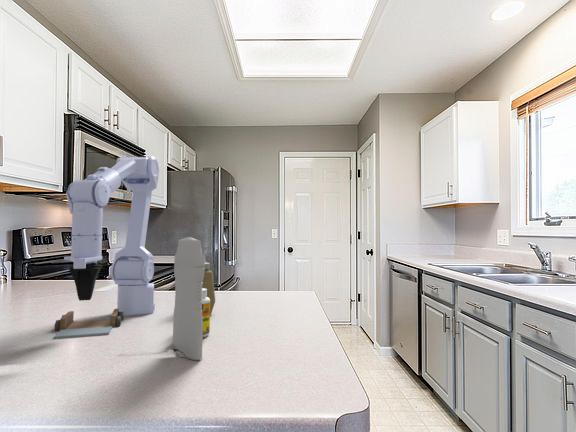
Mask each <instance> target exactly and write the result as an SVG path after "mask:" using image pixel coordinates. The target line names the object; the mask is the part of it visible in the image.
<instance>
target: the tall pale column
mask: <svg viewBox="0 0 576 432" xmlns="http://www.w3.org/2000/svg"><path fill="white" fill-rule="evenodd" d="M202 250H203V249H202V243H201V239H200V240H199V239H196V238H194V237H190V236H189V237H185V238H182V239H178V243H177V250H176V253H175V255H174V265H173V273H174V277H175V278H174V280H175V281H174V283H175V288H174V289H175V291H174V294H175V295H174V309H173V317H172V318H173V321H172V322H173V323H172V324H173V325H172V345H173V346H174V347H175V348H173V349H172V351H173V352H174V351H175V352H174V353H175V357H178V358H184V359H187V358H188V360H190V361H196V362H198V361H199V362H200V361H203V338H202V332H203V318H202V285H203V283H202V280H203V278H204V266H205V259H206V257H205V258H204V257H203V255H202Z"/></svg>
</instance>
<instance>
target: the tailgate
mask: <svg viewBox="0 0 576 432" xmlns="http://www.w3.org/2000/svg"><path fill="white" fill-rule="evenodd" d="M112 329H113V327H112V326H108V327H93V328H79V329H65V330H60V331H57V333H56V334H55V335H54V337H53V339H54V340H57V339H71V338H73V339H74V338H83V337H85V338H86V337H97V336H99V337H100V336H107V335H108V336H109V335H110V333H111V331H112Z"/></svg>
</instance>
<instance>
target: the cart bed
mask: <svg viewBox="0 0 576 432" xmlns="http://www.w3.org/2000/svg"><path fill="white" fill-rule="evenodd" d="M74 314H75V311H74V310H69V311H68V312H67V313H65V314H62V316H61V318H60V319H57V320H55V323H54V328H53V329H54V332H59V331H60V330H65V329H79V328H93V327H108V326H112V328H119V327H121V324H122V322H123V320H124V315H123V312H119V309H117V308H114V310H112V313H111V314H110V319H109V318H108V319H93V320H92V319H91V320H81V321H79V320H78V321H77V320H76V321H74V318H75V317H74Z"/></svg>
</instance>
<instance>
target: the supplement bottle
mask: <svg viewBox="0 0 576 432" xmlns="http://www.w3.org/2000/svg"><path fill="white" fill-rule="evenodd" d="M206 296H207V289H205V288H202V318H203V332H202V339H203V338H205V337H208V336H209V335H210V329H211V328H210V326H211V325H210V324H211V323H210V322H211V314H210V298H208V297H206Z"/></svg>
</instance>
